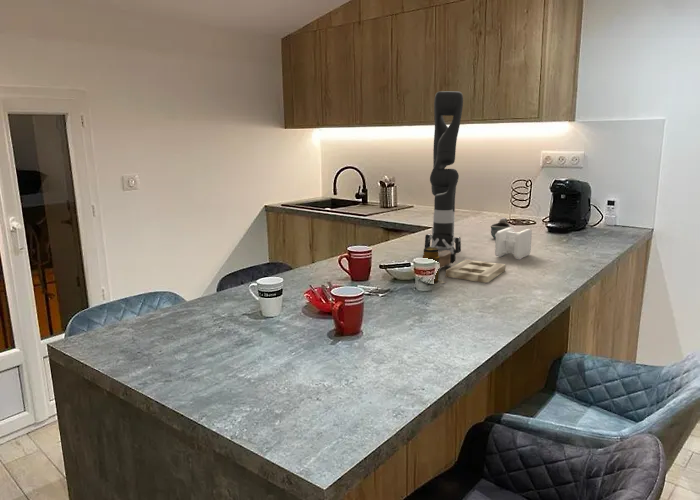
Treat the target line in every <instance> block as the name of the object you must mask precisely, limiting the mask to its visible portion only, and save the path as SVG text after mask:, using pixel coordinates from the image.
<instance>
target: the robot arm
mask: <svg viewBox="0 0 700 500" xmlns="http://www.w3.org/2000/svg"><path fill="white" fill-rule="evenodd" d="M433 101H434V102H433V107H434V108H433V110H434V111H433V112H434V113H433V114H434V116H433V117H434V135H433V136H434V137H433V149H432V150H433V154H432V155H433V157H432V159H433V163H432V164H433V167H432V171H431V173H430V177H429V182H430V184H431V194H432V195H433V196H434V200H433V201H434V202H433V203H434V204H433V205H434V207H433V208H434V209H433V216H432V217H433V218H432V219H433V221H432V222H433V223H432V225H433V226H432V228H431V233H427V234H425V237H424V248H427V247H433V248H437V249H438V251H439V250H440V251H444V250H448V251H450V252H451V256H450V264H454V263H455V262H456V260H457V259H456V257H457V254H458V253H461V251H462V246H461V245H462V243H461V241H462V240H461V239H462V238H461V236H455V219H456V218H455V212H456V208H455V207H456V193H457V192H456V190H457V185H458V182H459V172H458V170H456V169H455V168H446V167H448V166H451V165H453V164H454V163H455V162H456V161H455V160H456V152H457V151H456V150H457V141H458V134H459V131H460V130H459V129H460V125H461V119H462V115H463V107H464V95H463V93H462V92H461V91H452V90H451V91H450V90H449V91H447V90H446V91H444V90H442V91H438V92H436V93H435V96H434V100H433ZM444 116H446V117H449V116H453V117H452V120H451V121H450V124H449V125H448V126H447V124H446V122H445V118H444ZM454 244H455V245H454Z"/></svg>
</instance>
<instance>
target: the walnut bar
mask: <svg viewBox="0 0 700 500" xmlns="http://www.w3.org/2000/svg"><path fill="white" fill-rule="evenodd" d="M438 256H439V263H440V268H439V269H441V268H443V267H446V268H447V267H449V268H451V267H450V266H451V263H450V256H451V252H450V251H449V250H441V251H440V252H438Z"/></svg>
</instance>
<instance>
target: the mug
mask: <svg viewBox="0 0 700 500" xmlns="http://www.w3.org/2000/svg"><path fill="white" fill-rule="evenodd" d="M508 227H509V228H512V227H511V224H509V222H508V219H507V218H506V217H501V218H500V219H499V221H498V222H496V223H492V224H490V234H491V236H492V238H493V239H495V240H496V237H495V234H496V233H497V232H498V231H500V230H503V229H505V228H508Z"/></svg>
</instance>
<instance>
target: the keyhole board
mask: <svg viewBox="0 0 700 500" xmlns="http://www.w3.org/2000/svg"><path fill="white" fill-rule="evenodd" d="M506 265H507V264H505V263H497V262H496V263H495V262H489V261H484V260H482V261H481V260H473V259H464V260H462V261H461V262H459V263H457V264H454V265H453V266H451V267H449V268H447V269H445V278H451V279H458V280H465V281H471V282H479V283H484V284H488V283H490V282H491V281H493V280H494V279H495V278H497V277H498V276H500V275H501V274H502V273H504V272H506V267H507V266H506Z"/></svg>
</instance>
